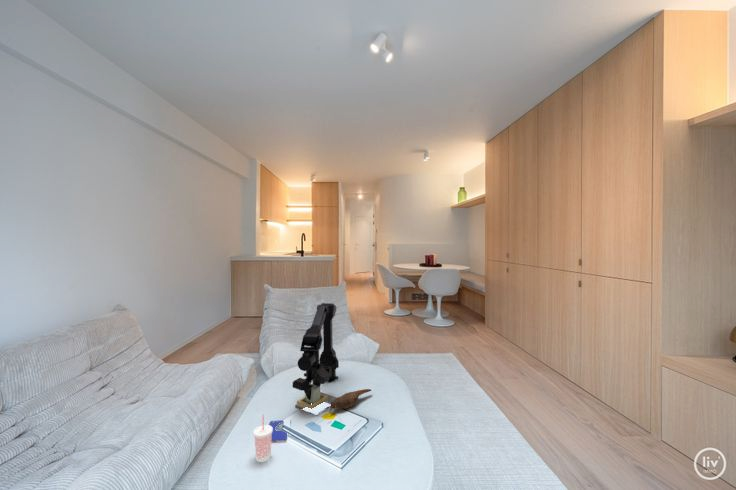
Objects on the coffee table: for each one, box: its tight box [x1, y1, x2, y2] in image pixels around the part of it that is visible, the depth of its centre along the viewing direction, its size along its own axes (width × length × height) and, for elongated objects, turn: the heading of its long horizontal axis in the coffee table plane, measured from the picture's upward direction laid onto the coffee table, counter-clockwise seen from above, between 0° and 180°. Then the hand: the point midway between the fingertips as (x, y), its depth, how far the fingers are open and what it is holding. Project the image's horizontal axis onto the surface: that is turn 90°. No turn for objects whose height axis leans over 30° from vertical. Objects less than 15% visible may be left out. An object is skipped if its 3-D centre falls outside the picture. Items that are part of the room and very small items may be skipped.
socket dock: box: [294, 391, 338, 410], centre depth 139 cm, size 15×12×3 cm
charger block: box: [304, 383, 321, 404], centre depth 138 cm, size 4×5×6 cm
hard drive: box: [268, 419, 288, 444], centre depth 119 cm, size 2×8×12 cm
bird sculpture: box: [328, 388, 372, 413], centre depth 138 cm, size 7×25×5 cm, turn 137°
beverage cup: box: [253, 414, 273, 463], centre depth 105 cm, size 6×6×14 cm
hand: (312, 397), depth 138 cm, fingers closed on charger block, 4 cm apart
